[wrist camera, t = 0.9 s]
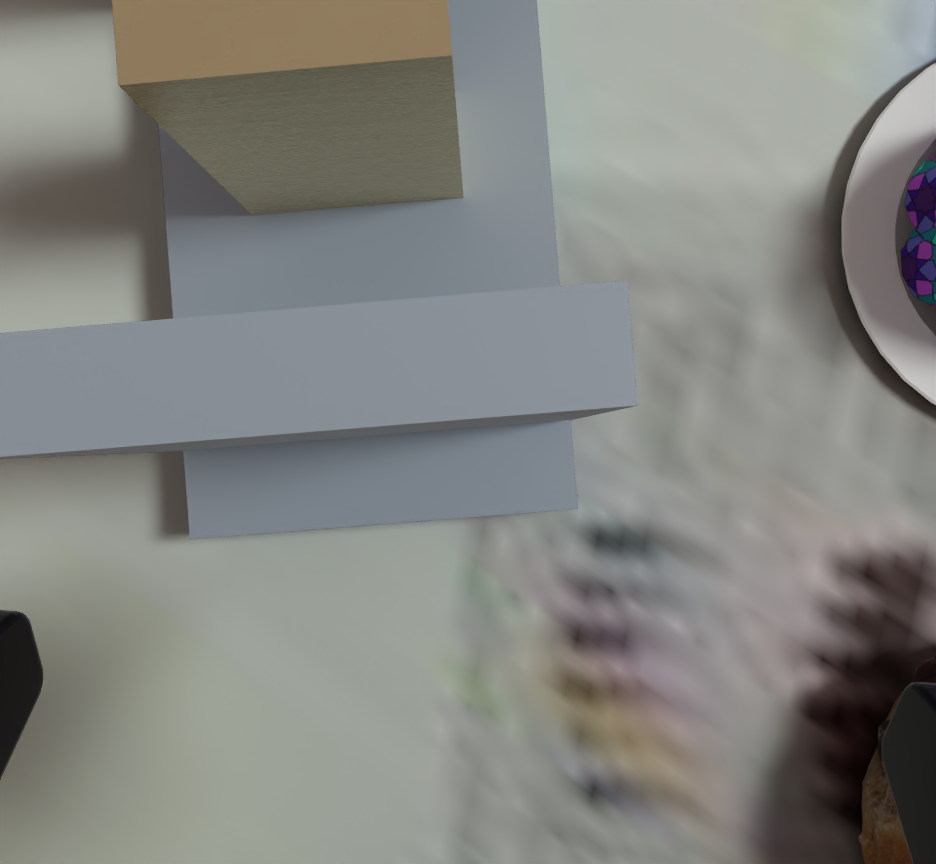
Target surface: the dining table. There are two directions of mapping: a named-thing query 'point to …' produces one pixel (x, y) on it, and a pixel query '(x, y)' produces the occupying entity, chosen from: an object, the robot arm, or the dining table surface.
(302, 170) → the brass block
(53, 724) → the dining table surface
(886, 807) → the bread roll
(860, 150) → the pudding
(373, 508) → the plate
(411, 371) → the sliding jaw
